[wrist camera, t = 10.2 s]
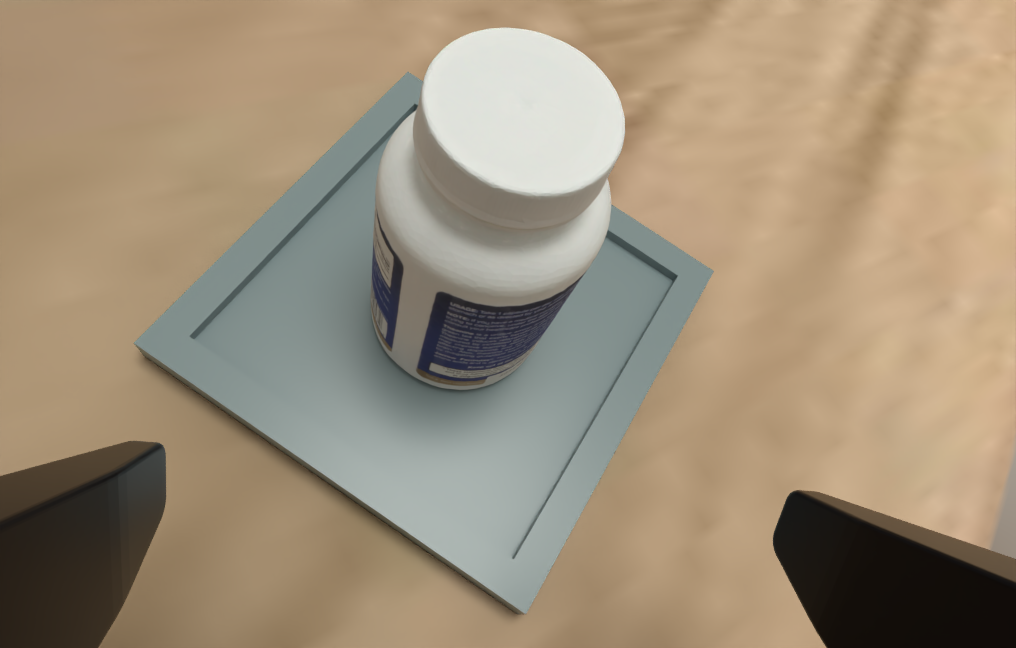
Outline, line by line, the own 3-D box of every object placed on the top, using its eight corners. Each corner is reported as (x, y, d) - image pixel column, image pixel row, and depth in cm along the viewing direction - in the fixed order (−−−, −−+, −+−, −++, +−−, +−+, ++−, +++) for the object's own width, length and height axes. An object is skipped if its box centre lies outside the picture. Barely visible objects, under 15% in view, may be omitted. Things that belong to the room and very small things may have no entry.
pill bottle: (568, 302, 22) (707, 103, 14) (476, 428, 20) (571, 285, 11) (437, 209, 23) (492, -44, 14) (332, 323, 20) (317, 104, 12)
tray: (517, 614, 19) (525, 614, 18) (143, 355, 20) (133, 343, 19) (700, 283, 25) (714, 271, 24) (405, 91, 25) (408, 71, 24)
